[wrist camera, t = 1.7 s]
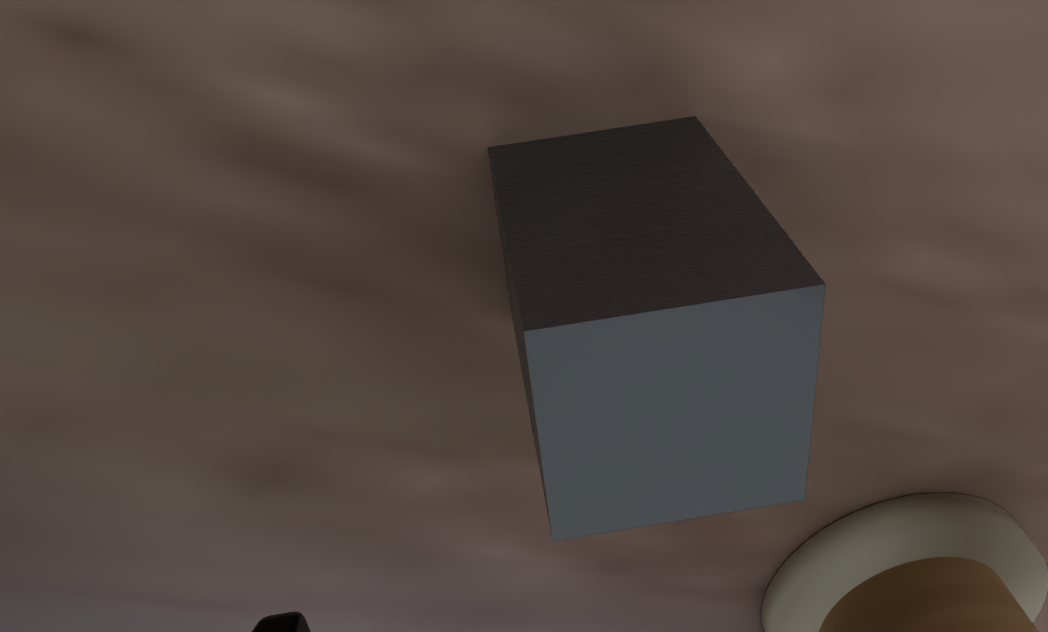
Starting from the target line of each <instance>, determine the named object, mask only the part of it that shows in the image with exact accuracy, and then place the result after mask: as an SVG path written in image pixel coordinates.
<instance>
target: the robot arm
mask: <svg viewBox="0 0 1048 632" xmlns="http://www.w3.org/2000/svg"><path fill="white" fill-rule="evenodd" d="M252 632H310V629H309V627H308V624H307V622H306V619H305V617H304V616H303V615H302V614H301V613H300V612H288V613H283V614H277V615H271V616H267V617H264V618H263V619H261V620H260V621H259V622H258V623H257V625H256V626H255V628H254V629H253V631H252Z"/></svg>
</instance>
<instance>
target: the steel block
mask: <svg viewBox="0 0 1048 632" xmlns="http://www.w3.org/2000/svg"><path fill="white" fill-rule="evenodd" d="M488 153H489V160H490V167H491V174H492V181H493V188H494V194H495V201H496V208H497V215H498V222H499V229H500V236H501V243H502V250H503V256H504V263H505V270H506V277H507V284H508V291H509V298H510V305H511V312H512V318H513V324H514V330H515V336H516V341H517V347H518V352H519V358H520V363H521V369H522V374H523V380H524V385H525V391H526V396H527V402H528V407H529V413H530V419H531V424H532V430H533V435H534V441H535V446H536V452H537V457H538V463H539V468H540V474H541V479H542V485H543V490H544V496H545V501H546V507H547V513H548V518H549V524H550V529H551V535H552V540H553V541H557V540H563V539H569V538H575V537H581V536H587V535H594V534H600V533H606V532H612V531H618V530H624V529H630V528H636V527H642V526H648V525H654V524H661V523H667V522H673V521H679V520H685V519H691V518H697V517H703V516H709V515H715V514H721V513H728V512H734V511H740V510H746V509H752V508H758V507H764V506H770V505H776V504H782V503H788V502H795V501H801V500H805V491H806V481H807V471H808V460H809V450H810V440H811V429H812V419H813V408H814V398H815V388H816V377H817V367H818V357H819V346H820V336H821V326H822V315H823V305H824V294H825V283H824V282H823V280H822V279H821V278H820V277H819V275H818V274H817V273H816V271H815V270H814V269H813V267H812V266H811V265H810V264H809V262H808V261H807V260H806V258H805V257H804V256H803V255H802V253H801V252H800V251H799V249H798V248H797V247H796V246H795V244H794V243H793V242H792V240H791V239H790V238H789V237H788V235H787V234H786V233H785V231H784V230H783V229H782V227H781V226H780V225H779V224H778V222H777V221H776V220H775V218H774V217H773V216H772V215H771V213H770V212H769V211H768V209H767V208H766V207H765V206H764V204H763V203H762V202H761V200H760V199H759V198H758V196H757V195H756V194H755V193H754V191H753V190H752V189H751V187H750V186H749V185H748V184H747V182H746V181H745V180H744V178H743V177H742V176H741V175H740V173H739V172H738V171H737V169H736V168H735V167H734V166H733V164H732V163H731V162H730V160H729V159H728V158H727V156H726V155H725V154H724V153H723V151H722V150H721V149H720V147H719V146H718V145H717V144H716V142H715V141H714V140H713V138H712V137H711V136H710V135H709V133H708V132H707V131H706V129H705V128H704V127H703V125H702V124H701V123H700V122H699V120H698V119H697V118H696V116H694V117H687V118H681V119H674V120H667V121H661V122H654V123H647V124H641V125H634V126H628V127H621V128H614V129H608V130H601V131H594V132H588V133H581V134H574V135H568V136H561V137H554V138H548V139H541V140H534V141H528V142H521V143H514V144H508V145H501V146H494V147H488Z"/></svg>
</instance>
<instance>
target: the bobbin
mask: <svg viewBox="0 0 1048 632" xmlns="http://www.w3.org/2000/svg"><path fill="white" fill-rule="evenodd" d="M1047 592H1048V568H1047V564H1046V562H1045V560H1044V558H1043V556H1042V554H1041V553H1040V552H1039V550H1038V549H1037V548H1036V546H1035V545H1034V544H1033V543H1032V541H1031V540H1030V539H1029V538H1028V536H1027V535H1026V534H1025V532H1024V531H1023V530H1022V529H1021V527H1020V526H1019V525H1018V524H1017V522H1016V521H1015V520H1014V518H1013V517H1012V516H1011V515H1010V514H1009V513H1007V512H1006V511H1005V510H1004V509H1003V508H1001V507H999V506H997V505H996V504H994V503H992V502H989V501H987V500H984V499H981V498H979V497H974V496H969V495H965V494H955V493H926V494H917V495H910V496H905V497H900V498H895V499H891V500H888V501H884V502H881V503H878V504H874V505H872V506H869V507H866V508H864V509H861V510H859V511H856V512H854V513H852V514H850V515H848V516H846V517H844V518H842V519H840V520H838V521H836V522H834V523H833V524H831V525H829V526H828V527H826V528H824V529H823V530H821V531H820V532H818V533H817V534H816V535H814V536H813V537H811V538H810V539H809V540H807V541H806V542H805V543H804V544H803V545H801V546H800V547H799V548H798V549H797V550H796V551H795V552H794V553H793V554H792V555H791V556H790V557H789V558H788V559H787V560H786V561H785V562H784V563H783V565H782V566H781V567H780V569H779V570H778V571H777V573H776V574H775V576H774V577H773V579H772V581H771V583H770V585H769V586H768V588H767V591H766V594H765V597H764V599H763V604H762V610H761V621H762V627H763V630H764V632H1039V631H1038V630H1037V629H1036V627H1035V626H1034V624H1033V622H1034V621H1035V619H1036V618H1037V616H1038V614H1039V613H1040V611H1041V609H1042V606H1043V604H1044V602H1045V600H1046V596H1047Z"/></svg>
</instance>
